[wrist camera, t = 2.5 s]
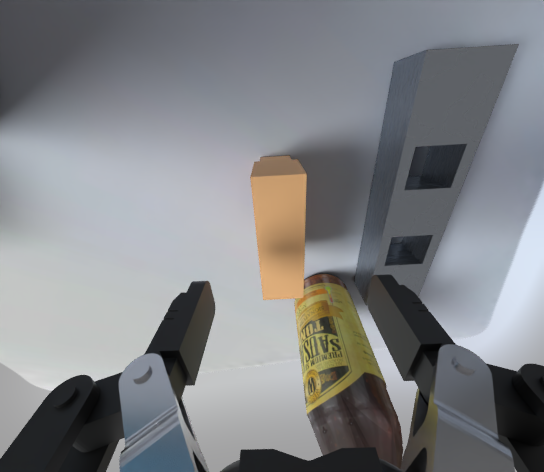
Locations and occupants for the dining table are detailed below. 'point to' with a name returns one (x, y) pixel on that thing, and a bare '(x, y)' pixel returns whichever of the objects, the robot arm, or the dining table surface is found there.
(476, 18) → the dining table surface
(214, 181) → the dining table surface
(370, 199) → the rail
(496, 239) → the dining table surface
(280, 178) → the orange block
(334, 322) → the sauce bottle
